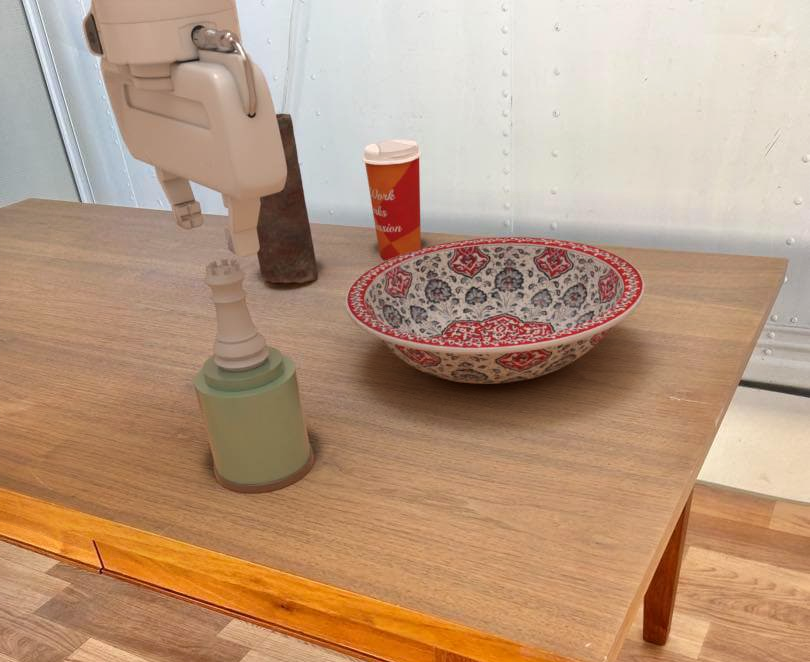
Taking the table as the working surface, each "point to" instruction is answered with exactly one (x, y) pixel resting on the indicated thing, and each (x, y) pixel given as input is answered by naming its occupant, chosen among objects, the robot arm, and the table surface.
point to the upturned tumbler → (255, 424)
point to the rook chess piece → (233, 320)
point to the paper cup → (395, 195)
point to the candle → (286, 222)
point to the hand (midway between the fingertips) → (216, 239)
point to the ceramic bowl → (495, 306)
